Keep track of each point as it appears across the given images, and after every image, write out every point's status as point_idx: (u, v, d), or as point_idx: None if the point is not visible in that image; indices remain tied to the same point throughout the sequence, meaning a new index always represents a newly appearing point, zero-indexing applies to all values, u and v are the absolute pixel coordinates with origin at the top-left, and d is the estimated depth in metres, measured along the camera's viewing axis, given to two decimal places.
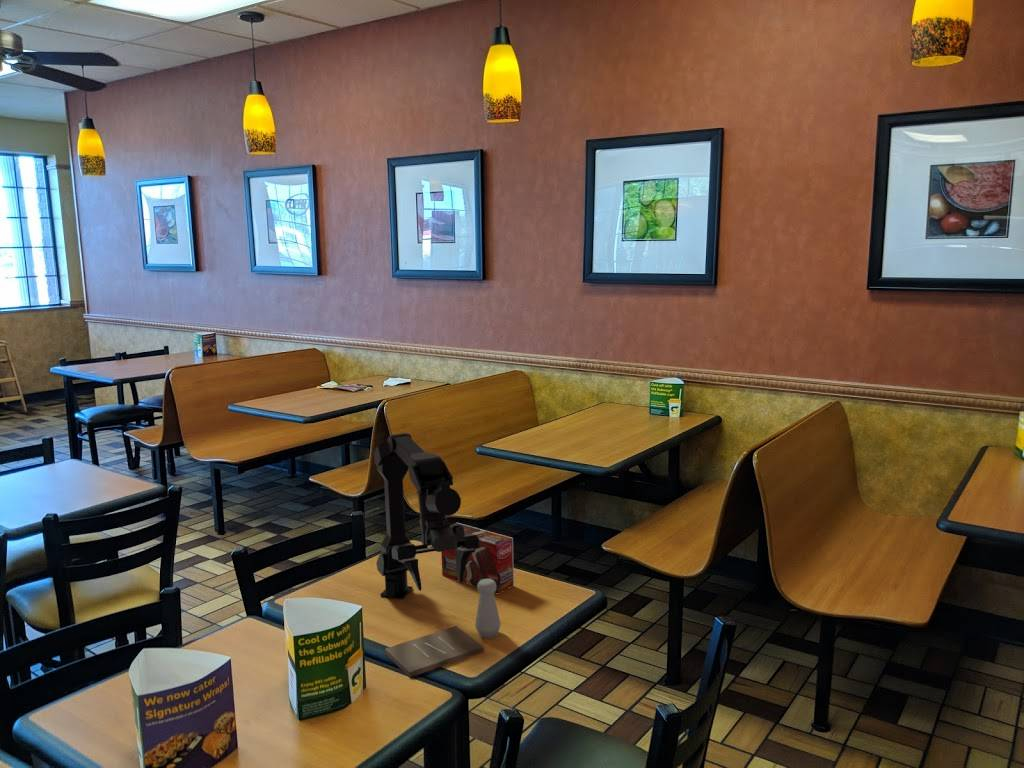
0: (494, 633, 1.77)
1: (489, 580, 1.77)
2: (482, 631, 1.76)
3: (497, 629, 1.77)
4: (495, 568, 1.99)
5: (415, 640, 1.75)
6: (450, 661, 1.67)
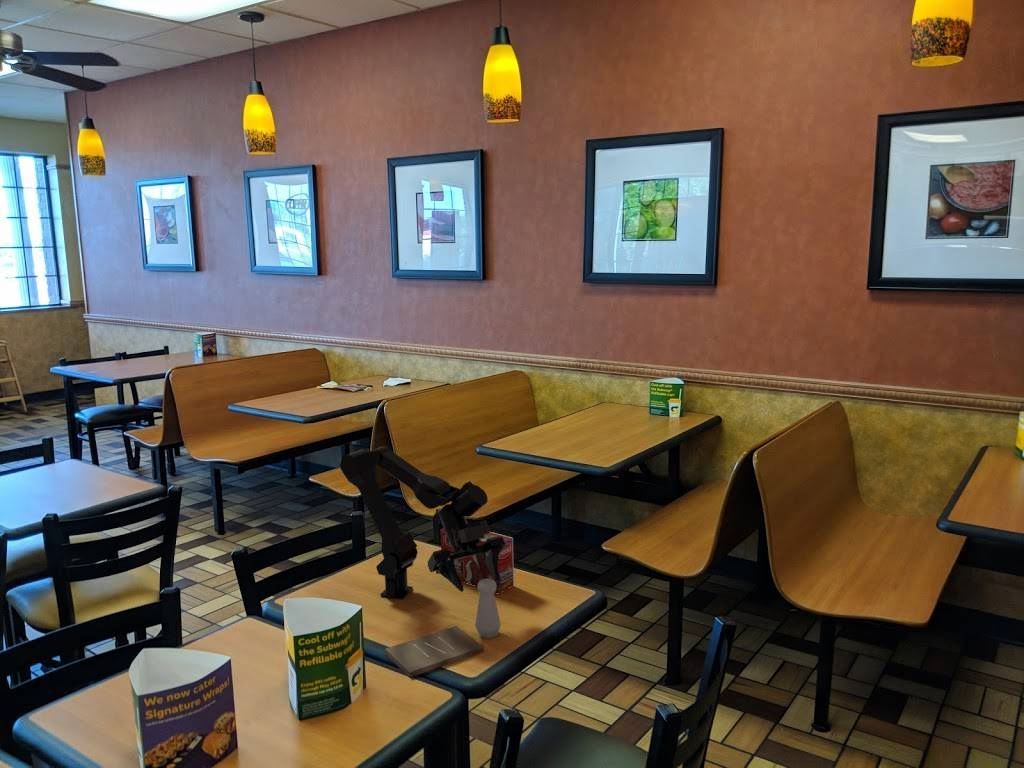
0: (494, 633, 1.77)
1: (489, 580, 1.77)
2: (482, 631, 1.76)
3: (497, 629, 1.77)
4: None
5: (415, 640, 1.75)
6: (450, 661, 1.67)
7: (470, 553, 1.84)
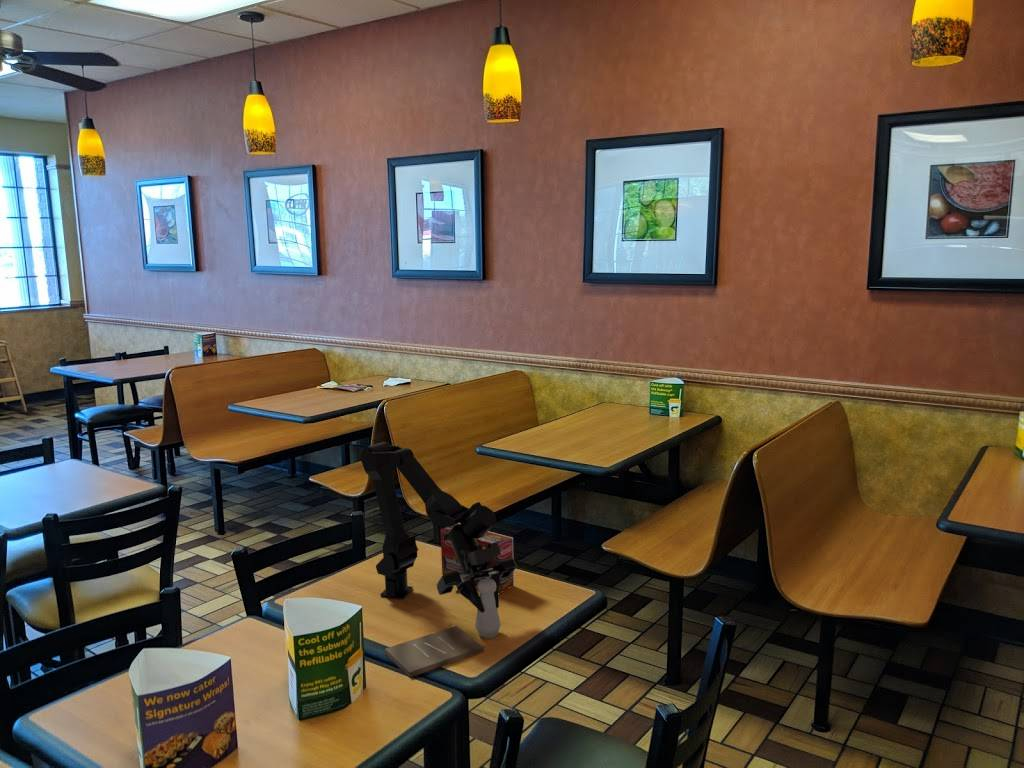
0: (494, 633, 1.77)
1: (489, 580, 1.77)
2: (482, 631, 1.76)
3: (497, 629, 1.77)
4: None
5: (415, 640, 1.75)
6: (450, 661, 1.67)
7: (480, 575, 1.81)
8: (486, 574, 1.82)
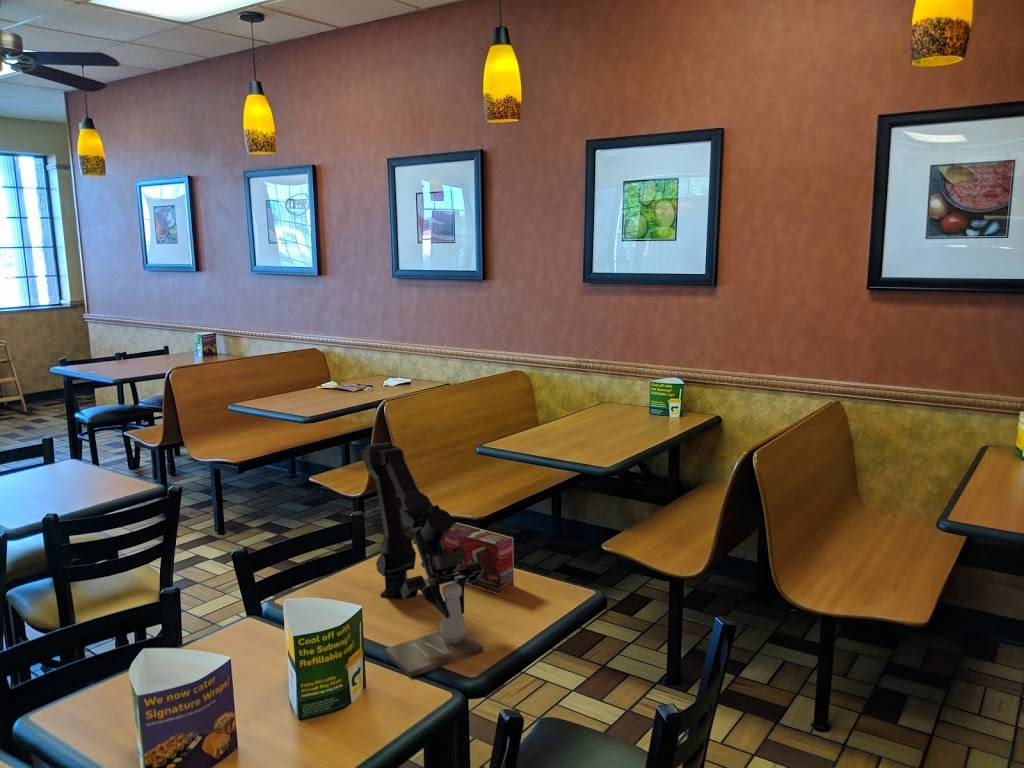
0: (459, 639, 1.72)
1: (454, 585, 1.72)
2: (447, 637, 1.71)
3: (462, 635, 1.72)
4: (495, 567, 1.99)
5: (415, 640, 1.75)
6: (450, 661, 1.67)
7: (446, 580, 1.76)
8: (452, 578, 1.76)
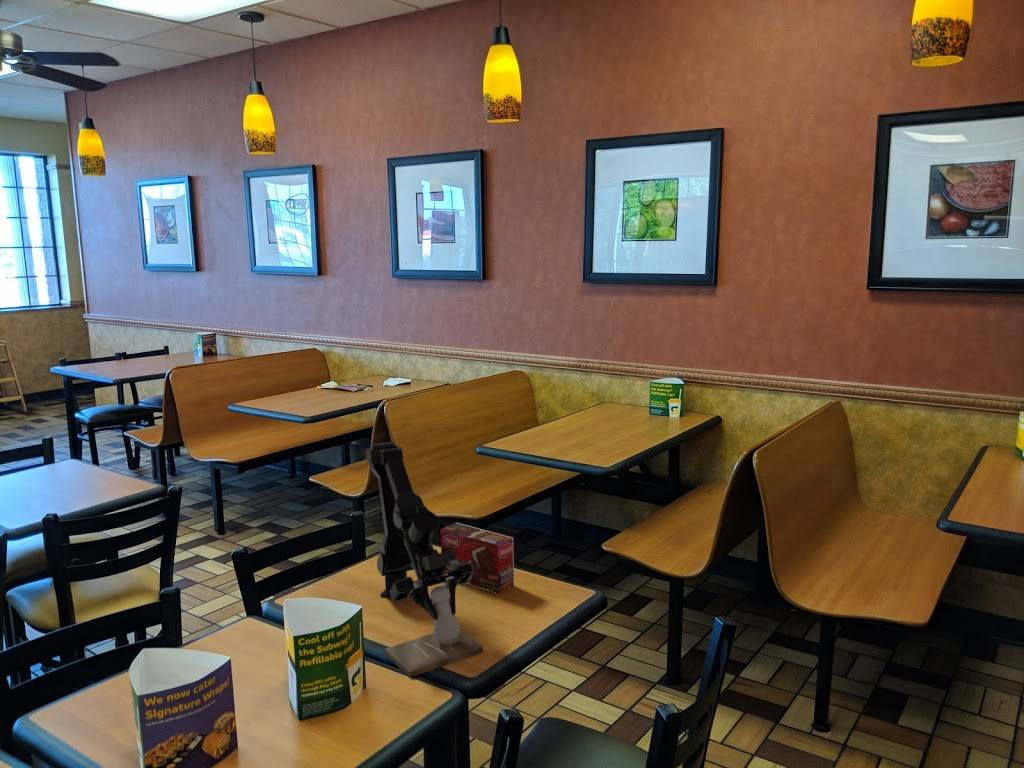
0: (453, 640, 1.71)
1: (442, 588, 1.70)
2: (440, 640, 1.71)
3: (456, 636, 1.71)
4: (495, 567, 1.99)
5: (415, 640, 1.75)
6: (450, 661, 1.67)
7: (436, 581, 1.74)
8: (443, 579, 1.75)
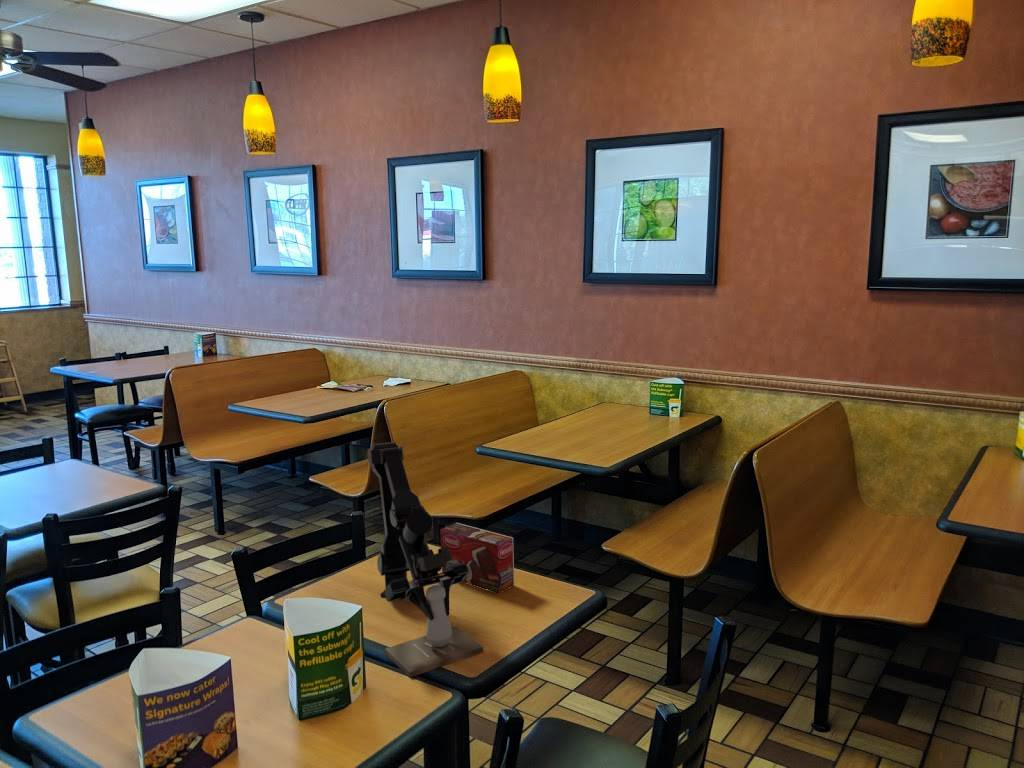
0: (445, 641, 1.70)
1: (438, 587, 1.70)
2: (432, 640, 1.70)
3: (448, 637, 1.70)
4: (496, 567, 1.99)
5: (415, 640, 1.75)
6: (450, 661, 1.67)
7: (431, 581, 1.74)
8: (437, 580, 1.74)
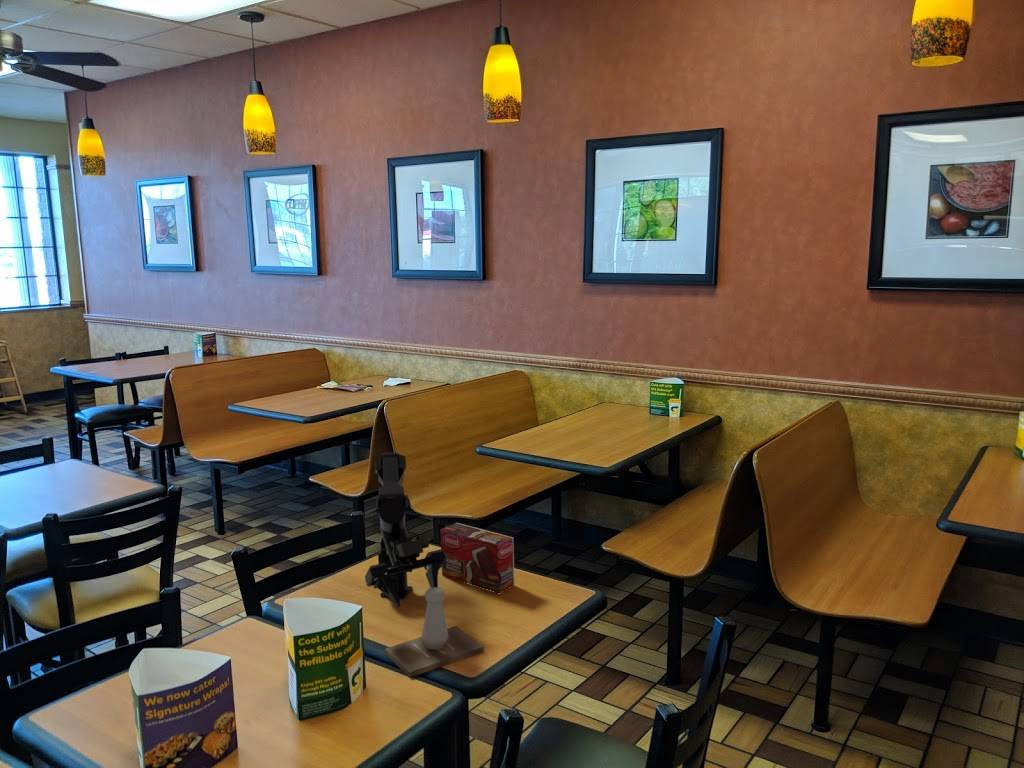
0: (440, 645, 1.70)
1: (437, 589, 1.70)
2: (427, 642, 1.69)
3: (443, 641, 1.70)
4: (496, 567, 1.99)
5: (415, 640, 1.75)
6: (450, 661, 1.67)
7: (409, 567, 1.81)
8: (426, 563, 1.83)
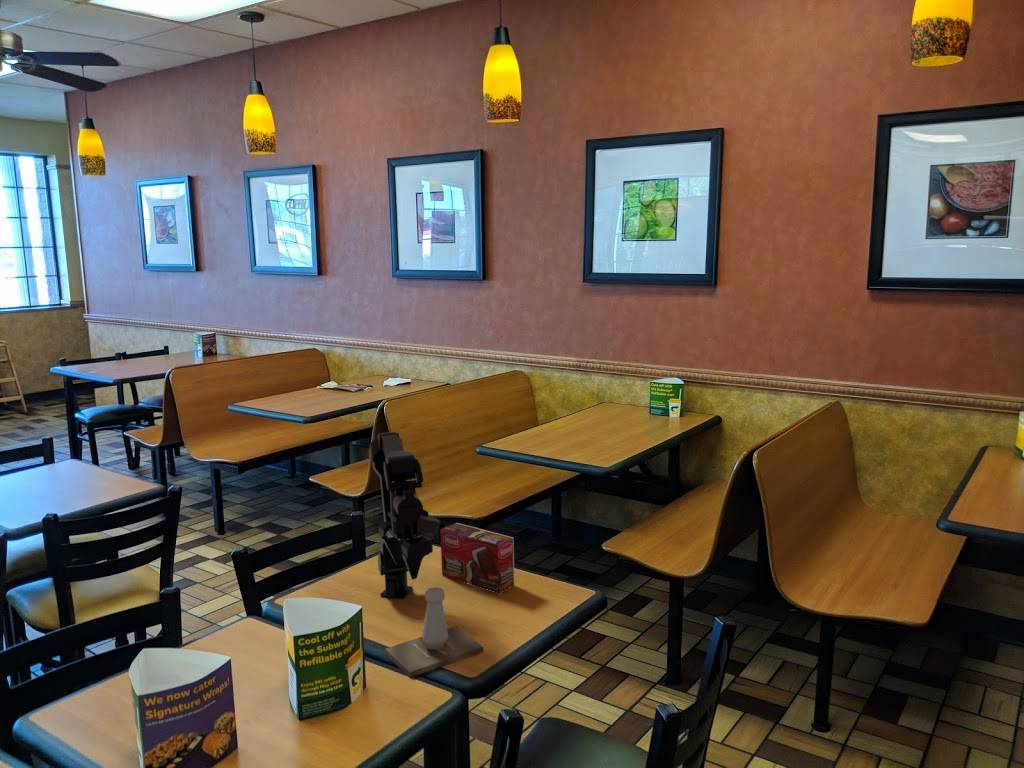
0: (440, 645, 1.70)
1: (437, 589, 1.70)
2: (427, 642, 1.69)
3: (443, 641, 1.70)
4: (496, 567, 1.99)
5: (415, 640, 1.75)
6: (450, 661, 1.67)
7: None
8: None
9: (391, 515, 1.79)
